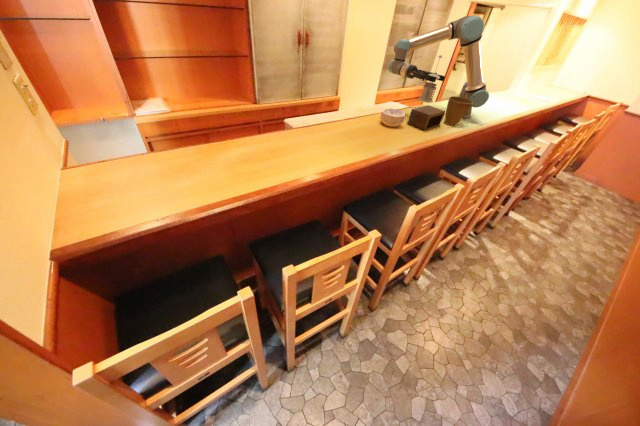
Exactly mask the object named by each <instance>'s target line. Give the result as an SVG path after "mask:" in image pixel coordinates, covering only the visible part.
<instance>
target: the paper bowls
mask: <svg viewBox="0 0 640 426" xmlns="http://www.w3.org/2000/svg"><path fill="white" fill-rule="evenodd" d="M405 118H406V112H405V111H403V110H401V109H396V108H391V107H390V108H388V107H387V108H383V109H381V112H380V117H379V119H380V120H381V121H382V124H383V125H385V126H387V127H391V128H395V127H396V128H397V127H398V126H400V125H401V124H403V123H404V122H405Z"/></svg>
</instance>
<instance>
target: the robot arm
mask: <svg viewBox="0 0 640 426" xmlns="http://www.w3.org/2000/svg"><path fill="white" fill-rule="evenodd" d="M484 30H485V22H484V20H483V18H482V17H481V16H478V15H466V16H463V17H461V18H458V19H456V20H453V21H451V22H448V23H447V25H444V26H441V27H438V28H436V29H432V30H430V31H427V32H424V33H420V34H418V35H416V36H412V37H410V38H407V39H403V38H401V39H398V41H396V42H395V43H394V46H393V52H394V58H393V59H392V60H391V61H390V62H389V64H388V66H387V67H388V72H389V73H391V74H394V75H397V76H401V77H402V78H406V79H407V78H408V79H411V80H412V79H414V78H416V79H419V80H422V82H425V81H428V82H430V83H431V82H433V83H436V81H440V82H444V81H445V79H446V75H442V74H438V72H433V71H432V72H431V71H427V70H422V69H419V68H418V66H417V65H416V64H411V63H407V62H406V60H407V57H408V53H409V52H412V51H415V50H418V49H423V48H425V47H427V46H431V45H434V44H437V43H440V42H444V41H447V40H448V41H452V40H459V46H460V48H461V49H463V56H464V64H465V72H466V81H465V82H464V84H463V86H462V88H461V90H460V91H459V92H460V93H459V95H458V97H461V98H465V99H468V100H471V101H472V102H473V104H472V105H471V107H470V108H469V110H468V111H467V112H466V114H465V115H464V116H463V118H464V119H468V118H470V117H471V115H472V111H473V108H480V107H482V106H484V105H485V104H486V103H487V102H488V101H489V98H490V93H489V91H488V90H487V83H486V81H484V79H483V78H484V77H483V67H482V56H481V55H482V54H481V44H480V42H481V41H482V39H483V32H484ZM434 73H435V74H437V75H438V76H439V77H440V79H436V78H437V77H434V76H430V75H429V74H434ZM463 118H462V119H463Z"/></svg>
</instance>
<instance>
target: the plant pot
mask: <svg viewBox="0 0 640 426" xmlns="http://www.w3.org/2000/svg"><path fill="white" fill-rule="evenodd" d="M472 104H473V102H472V101H471V100H468V99H465V98H461V97H459V96H454V95H453V96H449V98H448V101H447V106H446V109H445V115H444V116H445V118H444V123H445V124H446V125H448V126H457V124H459V122H460V121H461V120H462V119H463V116H464V115H465V114H466V112H467V111H468V110H469V108H470V107H471V105H472Z"/></svg>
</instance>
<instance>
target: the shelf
mask: <svg viewBox="0 0 640 426" xmlns="http://www.w3.org/2000/svg"><path fill="white" fill-rule="evenodd" d="M445 115H446V110H443V109H440V108H437V107H434V106H431V105H423V106H418V107H414V108H412V109H411V111H410V114H409V117H408V121H407V122H406V124H407V125H408V126H409V127H410V126H411V127H413V128H415V129H418V130H420V131H423V132H425V131H429V130H432V129H435V128H439V127H440V126H441V123H442V121H443V119H444V116H445Z"/></svg>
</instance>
